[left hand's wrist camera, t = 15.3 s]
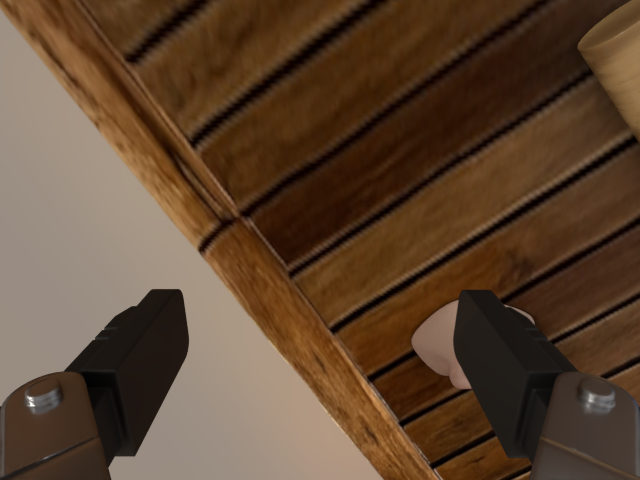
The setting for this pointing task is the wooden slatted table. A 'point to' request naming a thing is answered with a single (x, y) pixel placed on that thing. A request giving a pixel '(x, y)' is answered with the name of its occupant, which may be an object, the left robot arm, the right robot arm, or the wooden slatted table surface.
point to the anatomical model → (443, 344)
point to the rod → (617, 60)
